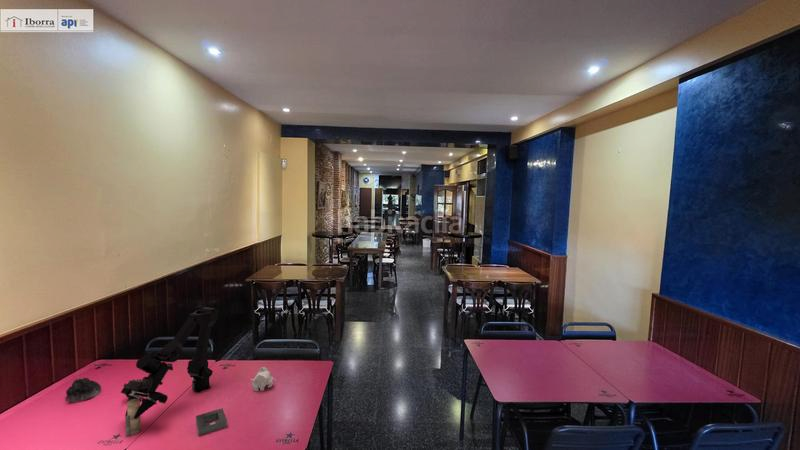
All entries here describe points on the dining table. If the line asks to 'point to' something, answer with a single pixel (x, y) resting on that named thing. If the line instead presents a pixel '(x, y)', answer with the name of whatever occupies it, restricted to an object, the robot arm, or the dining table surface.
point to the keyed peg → (132, 417)
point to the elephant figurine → (262, 379)
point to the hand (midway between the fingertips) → (130, 417)
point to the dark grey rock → (82, 390)
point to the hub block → (205, 418)
